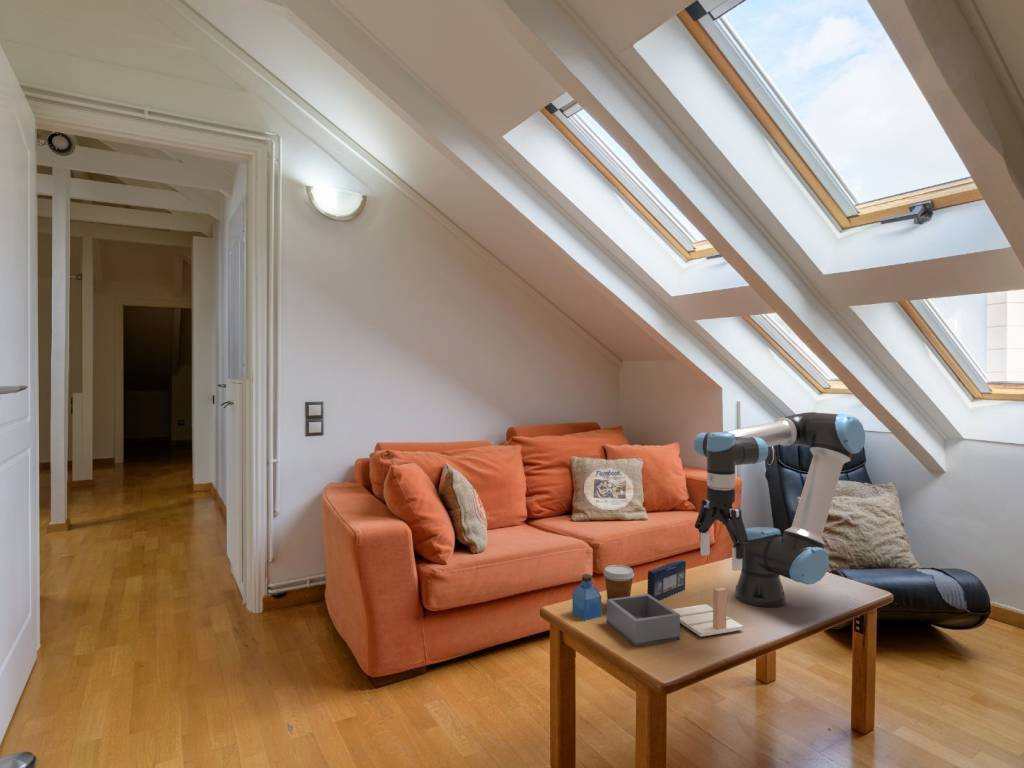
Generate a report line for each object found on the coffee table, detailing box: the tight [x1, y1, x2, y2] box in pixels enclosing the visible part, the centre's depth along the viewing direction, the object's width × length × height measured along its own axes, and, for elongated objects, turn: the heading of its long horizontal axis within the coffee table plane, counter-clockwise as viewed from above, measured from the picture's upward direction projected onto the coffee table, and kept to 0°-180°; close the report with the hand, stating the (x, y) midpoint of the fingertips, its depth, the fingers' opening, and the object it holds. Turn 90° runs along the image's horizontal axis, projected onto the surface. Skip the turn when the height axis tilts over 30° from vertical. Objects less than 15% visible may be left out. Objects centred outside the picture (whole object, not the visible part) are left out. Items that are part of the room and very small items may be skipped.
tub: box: [606, 593, 681, 648], centre depth 167 cm, size 14×16×7 cm
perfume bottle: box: [571, 573, 602, 622], centre depth 177 cm, size 6×6×12 cm
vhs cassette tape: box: [646, 559, 687, 601], centre depth 194 cm, size 18×3×10 cm, turn 129°
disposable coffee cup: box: [603, 564, 635, 600], centre depth 183 cm, size 10×10×12 cm
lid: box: [671, 586, 744, 638], centre depth 172 cm, size 15×17×13 cm
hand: (720, 562), depth 165 cm, fingers open, 13 cm apart
